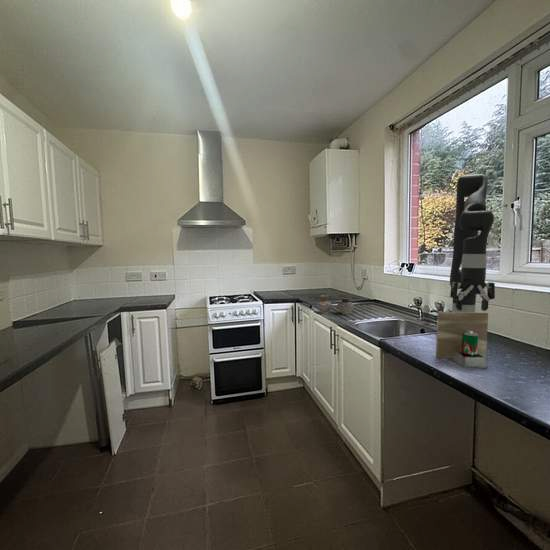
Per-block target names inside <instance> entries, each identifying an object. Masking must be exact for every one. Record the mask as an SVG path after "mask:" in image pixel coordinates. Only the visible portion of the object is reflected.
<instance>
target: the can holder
mask: <svg viewBox="0 0 550 550" xmlns="http://www.w3.org/2000/svg"><path fill="white" fill-rule="evenodd" d="M450 358H451V359H452V360H453V361H454V362H456V363H457V364H458V365H460V366H462V367H463V368H484V369H485V368H488V357H487V356H486V357H485V356H483V355H481V354H480V353H478V355H477V357H464V356H463V355H461V354H460V353H458V352H457V351H455V350H454V349H451V356H450ZM450 358H449V359H450Z"/></svg>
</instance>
